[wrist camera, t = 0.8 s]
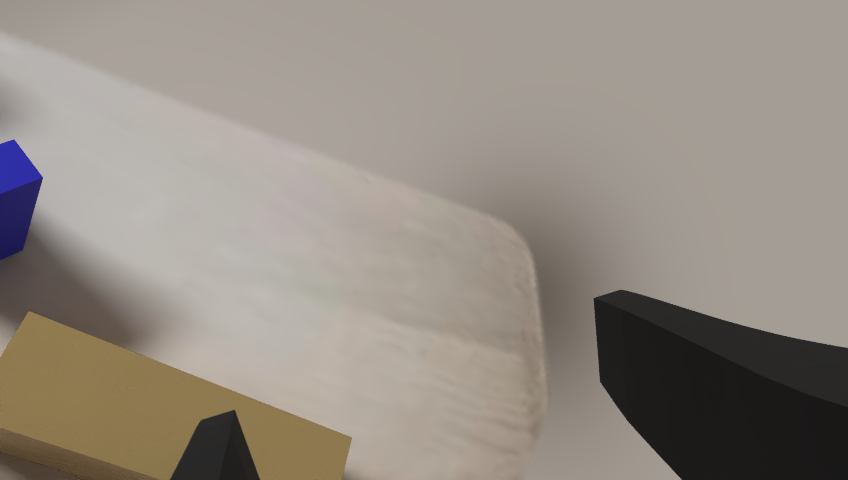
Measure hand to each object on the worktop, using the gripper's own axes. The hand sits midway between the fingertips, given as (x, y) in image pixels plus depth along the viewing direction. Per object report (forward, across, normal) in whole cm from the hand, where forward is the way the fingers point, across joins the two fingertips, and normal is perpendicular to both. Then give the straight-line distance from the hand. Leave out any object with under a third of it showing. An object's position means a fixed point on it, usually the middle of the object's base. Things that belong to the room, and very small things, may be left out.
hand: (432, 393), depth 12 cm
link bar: (+12, +9, +8) cm, 17 cm away
